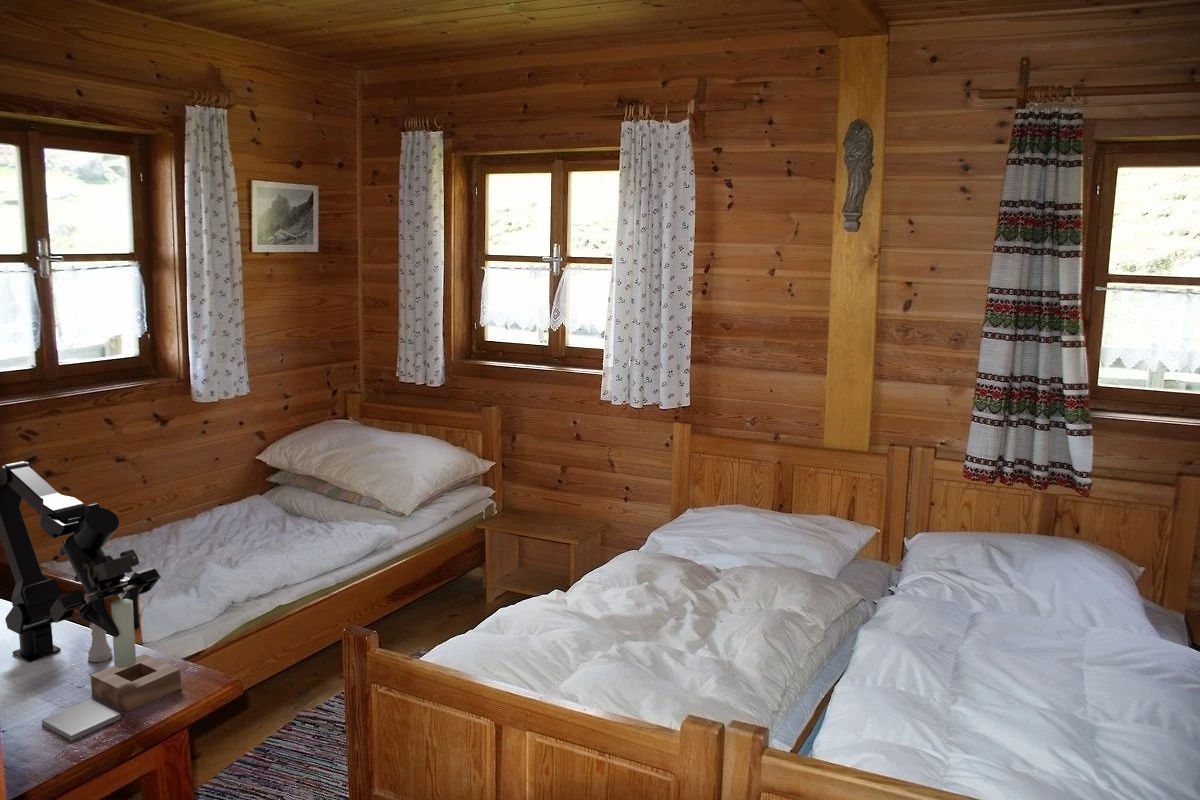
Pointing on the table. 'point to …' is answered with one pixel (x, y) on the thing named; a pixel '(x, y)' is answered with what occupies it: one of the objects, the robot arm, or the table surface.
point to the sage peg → (123, 633)
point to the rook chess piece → (99, 645)
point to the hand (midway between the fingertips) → (127, 632)
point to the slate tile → (81, 719)
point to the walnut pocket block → (136, 683)
